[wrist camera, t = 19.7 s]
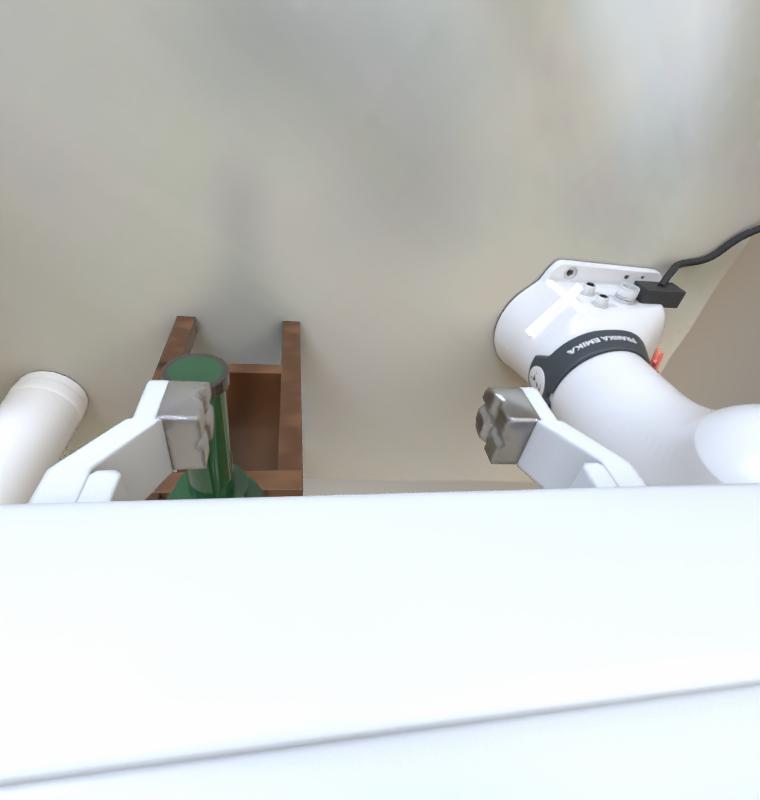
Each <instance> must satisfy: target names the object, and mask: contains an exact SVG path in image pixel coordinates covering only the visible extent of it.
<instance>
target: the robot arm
mask: <svg viewBox="0 0 760 800" xmlns="http://www.w3.org/2000/svg"><path fill="white" fill-rule="evenodd" d="M759 232H760V225H759V226H756V227H754V228H752V229H749V230H747V231H745V232H743V233H741V234H739V235H737V236H735V237H734V238H732V239H731V240H729V241H728V242H727V243H725V244H724V245H723V246H721V247H720V248H719V249H717V250H716V251H714V252H713V253H711V254H709V255H707V256H704V257H700V258H695V259H687V260H682V261H679V262H676V263H674V264H673V265H672V266H671V268H670V269H669V270H668V271H667V272H666V274H665V275H664V276H663V278H662V275H661V274H660V273H659V272H658V271H657V270H655V269H648V268H638V267H629V266H619V265H609V264H600V263H590V262H581V261H571V260H558V261H556V262H555V263H553V264H552V265H551V266H550V267H549V268H548V270H547V271H546V272H545V273H544V274H543V276H542V277H541V278H540V279H539V280H538V281H537V282H536V283H534V284H533V285H532V286H530V287H529V288H527V289H526V290H524V291H523V292H521V293H520V294H519V295H518V296H517V297H515V298H514V299H513V300H512V301H511V303H510V304H509V305H508V306H507V307H506V309H505V310H504V312H503V313H502V315H501V317H500V319H499V321H498V323H497V326H496V329H495V335H494V345H495V349H496V352H497V354H498V356H499V358H500V359H501V360H502V361H503V362H504V363H505V364H506V365H508V366H509V367H511V368H512V369H513V370H514V371H516V372H517V373H518V374H519V375H520V376H521V377H522V378H523V379H524V380H525V381H526V382H527V383H528V384H529V385H530V387H519V388H487V390H486V391H485V393H484V396H483V399H484V401H485V404H484V405H483V406H482V407H480V408H479V410H478V413H477V416H476V429H477V433H478V435H479V438H480V439H482V440H483V441H484V442H486V445H485V448H484V449H485V451H486V453H487V456H488V458H489V460H490V462H491V464H517V466H518V467H519V468H520V469H521V470H522V471H523V472H525V473H526V474H527V475H528V476H529V477H530V478H531V479H532V480H533V481H535V482H536V483H537V484H538V485H539V486H540V487H541V488H542V489H533V490H498V491H497V490H496V491H460V492H426V493H425V492H424V493H392V494H359V495H358V494H356V495H323V496H285V497H249V498H214V499H178V500H145V499H146V498H147V497H148V496H149V495H150V494H151V493H152V492H153V491H154V490H155V489H156V488H157V487H158V486H159V485H160V484H161V483H162V482H163V481H164V480H165V479H166V478H167V477H168V476H169V475H170V474H171V473H172V472H173V470H182V469H206V467H207V462H208V457H209V453H210V448H209V441H210V440H212V437H213V432H214V409H213V406H212V405H211V404H210V399H211V394H212V393H211V387H210V383H209V382H199V381H174V380H171V381H169V380H150V381H149V382H148V383H147V385H146V387H145V389H144V392H143V394H142V397H141V399H140V401H139V404H138V406H137V409H136V411H135V413H134V416H133V418H132V419H126V420H124V421H122V422H121V423H119V424H118V425H116V426H115V427H113V428H111V429H110V430H108V431H107V432H105V433H104V434H102V435H101V436H99V437H97V438H96V439H94V440H93V441H91V442H90V443H88V444H86V445H85V446H83V447H82V448H80V449H79V450H77V451H76V452H74V453H72V454H71V455H69V456H68V457H66V458H65V459H63V460H61V461H60V462H58V463H57V464H55V465H54V466H52V467H51V468H49V469H47V471H46V472H45V474H44V476H43V478H42V479H41V481H40V483H39V485H38V487H37V488H36V490H35V492H34V494H33V495H32V497H31V499H30V501H29V503H28V504H0V800H760V404H745V405H736V406H730V407H726V408H722V409H719V410H712V409H708V408H705V407H703V406H700V405H698V404H696V403H694V402H693V401H691V400H689V399H688V398H686V397H685V396H684V395H682V394H681V393H680V392H679V391H678V390H677V389H676V388H674V387H673V386H672V385H671V384H670V383H669V382H668V381H666V380H665V379H664V378H663V377H662V376H661V375H660V374H659V373H658V371H657V369H658V367H659V365H660V363H661V360H662V358H663V354H664V352H661V354H660V356H659V348H658V347H657V345H658V343H659V340H660V338H661V335H662V332H663V328H664V323H665V311H664V308H663V307H665V308H677V307H678V305H679V304H680V302H681V300H682V299H683V297H684V295H685V294H686V292H685V291H683V290H682V289H681V288H679V287H678V286H676V285H675V284H673V283H669V280H670V279H671V277H672V276H673V275H674V274H675V272H676V271H677V270H678V269H679V268H681V267H685V266H691V265H698V264H703V263H706V262H709V261H711V260H713V259H715V258H717V257H719V256H720V255H722V254H723V253H724V252H726V251H727V250H728V249H730V248H731V247H732V246H734V245H735V244H737V243H738V242H740V241H742V240H744V239H746V238H748V237H750V236H752V235H754V234H757V233H759ZM569 270H570V272H569V273H567V271H569ZM656 347H657V348H656ZM654 351H655V352H654ZM653 353H654V354H653ZM652 355H653V357H652ZM651 357H652V359H651V361H650V358H651Z"/></svg>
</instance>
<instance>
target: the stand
mask: <svg viewBox="0 0 760 800" xmlns="http://www.w3.org/2000/svg"><path fill="white" fill-rule="evenodd" d="M196 334H197V326H196V319H195V317H184V316H177V318H176V321H175V323H174V326H173V328H172V331H171V333H170V336H169V338H168V341H167V343H166V346H165V348H164V351H163V353H162V356H161V358H160V361H159V363H158V366H157V368H156V371H155V374H154V376H153V379H152V380H162V379H161V371H162V369H163V367H164V366H165V365H166V364H167V363H168V362H169V361H171V360H172V359H174V358H177V357H179V356H183V355H187V354H190V353H191V350H192V347H193V343H194V340H195V337H196ZM227 365H228V367H229V373H230V384H229V387H228V388H227V390H226V394H227V404H228V415H229V426H230V436H231V447H232V457H233V464H235V465H237V466H239V467H240V468H241V469H242V470H243V471H244V473H245V474H246V475H248V476H249V477H251V478H252V479H253V480H254V481H255V482H256V483H257V484H258V485H259V486H260V488H261V490H262V492H263V496H264V497H285V496H303V463H302V411H301V360H300V322H292V321H283V335H282V363H281V365H260V364H227ZM184 472H185V469H182V470H177V472H172V473H171V474H170V475H169V476H168V477H167V478H166V479H165V480H164V481H163V482H162V483H161V484H160V485H159V486H158V487H157V488H156V489H155V490H154V491H153V492H152V493H151V494H150V495H149V496H148V497H147V498H146V499H145V500H166V499H167V497H168V496H169V494H170V493H171V492H172V490H173V489H174V488H175V486H176V484H177V481H178V480H179V478H180V477H181V475H182V474H183V473H184Z"/></svg>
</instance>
